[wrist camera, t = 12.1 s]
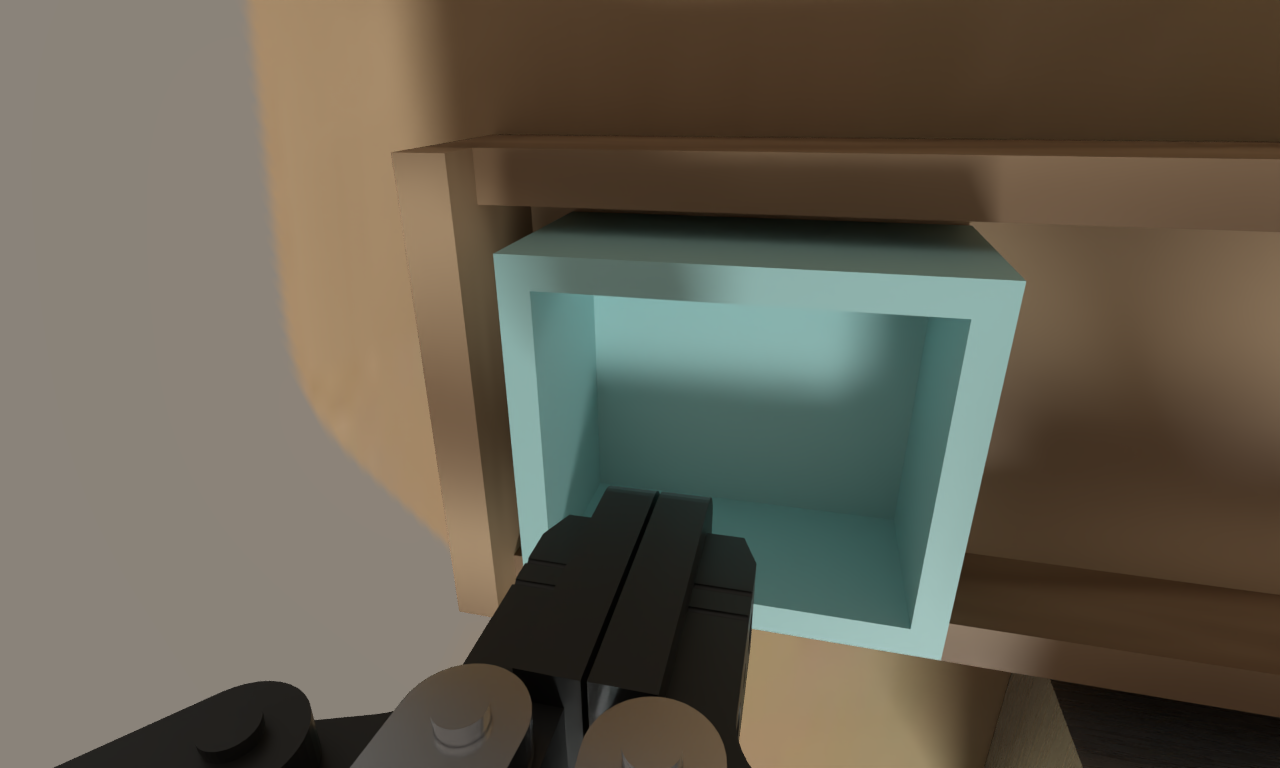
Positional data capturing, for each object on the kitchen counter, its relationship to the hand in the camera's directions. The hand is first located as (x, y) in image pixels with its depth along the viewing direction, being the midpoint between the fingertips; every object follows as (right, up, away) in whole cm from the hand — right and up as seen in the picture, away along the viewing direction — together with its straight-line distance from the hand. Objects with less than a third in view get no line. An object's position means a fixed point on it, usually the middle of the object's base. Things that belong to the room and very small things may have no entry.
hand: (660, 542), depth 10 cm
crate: (+2, +3, +5) cm, 6 cm away
